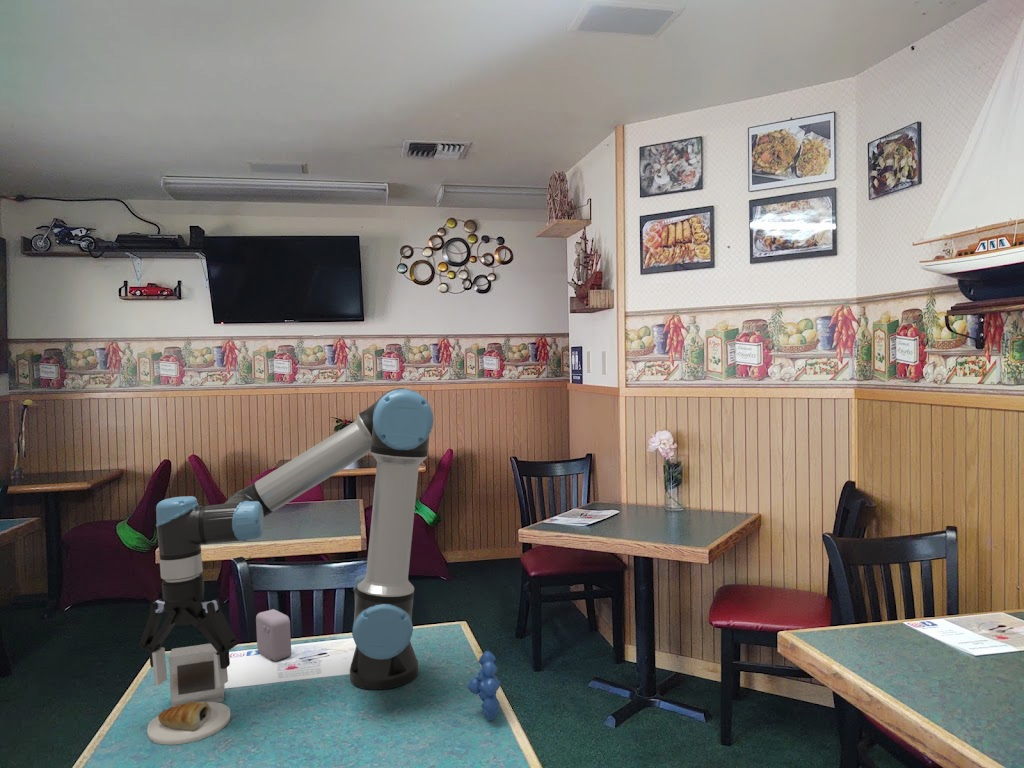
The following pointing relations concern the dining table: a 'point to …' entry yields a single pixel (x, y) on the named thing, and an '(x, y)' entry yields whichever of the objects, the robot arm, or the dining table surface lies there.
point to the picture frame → (193, 675)
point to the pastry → (185, 716)
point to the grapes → (487, 685)
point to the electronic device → (273, 634)
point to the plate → (173, 736)
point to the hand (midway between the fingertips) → (191, 683)
